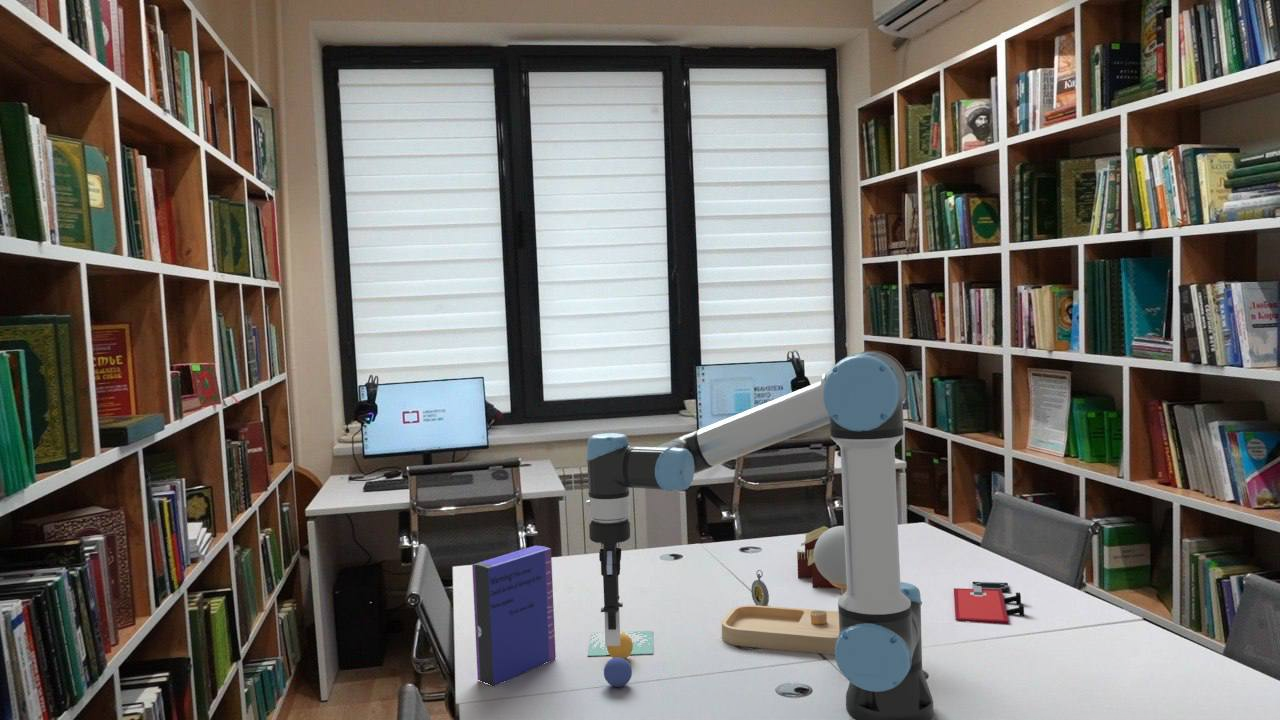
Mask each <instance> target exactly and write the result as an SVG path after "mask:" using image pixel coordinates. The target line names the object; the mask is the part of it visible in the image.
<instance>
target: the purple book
mask: <svg viewBox="0 0 1280 720" xmlns="http://www.w3.org/2000/svg"><path fill="white" fill-rule="evenodd" d="M552 560H553V559H552V548H549V547H547V546H543V545H533V546H529V547H526V548H522V549H519V550H516V551H512V552H509V553H506V554H503V555H500V556H496V557H493V558H490V559H486V560H483V561H480V562H476V563H472V565H471V566H472V567H471V568H472V569H471V570H472V587H473V609H474V628H475V631H474V632H475V651H476V652H475V653H476V669H477V671H476V672H477V681H478V680H480V681H482V682H485V683H488V684H490V685H492V687H493V686H494V687H496V686H495V685H497V686H499V685H501V684H503V683H505V682H504V681H506V682H508V681H510V680H512V679H514V677H515V678H517V677H519V676H520V675H523V673H524V674H526V673H528V672H530V671H533V670H534V668H535V669H537V668H539V667H541V666H543V665H542V664H544V663H546V662H548V663H550V662H552V661H551V660H553V659H555V658H556V659H557V657H556V656H557V655H556V654H557V653H556V636H555V635H556V634H555V633H556V632H555V613H554V611H555V610H554V608H555V607H554V590H553V589H554V587H553V583H554V582H553V565H552V564H553V563H552ZM556 659H555V660H556ZM549 661H550V662H549ZM553 661H554V660H553ZM546 664H547V663H546ZM540 665H541V666H540ZM544 665H545V664H544ZM538 666H539V667H538ZM536 667H537V668H536ZM532 669H533V670H532ZM529 670H530V671H529ZM527 671H528V672H527ZM525 672H526V673H525ZM516 676H517V677H516ZM509 679H510V680H509ZM507 680H508V681H507ZM502 682H503V683H502ZM500 683H501V684H500ZM498 684H499V685H498ZM490 685H489V686H490Z"/></svg>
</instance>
